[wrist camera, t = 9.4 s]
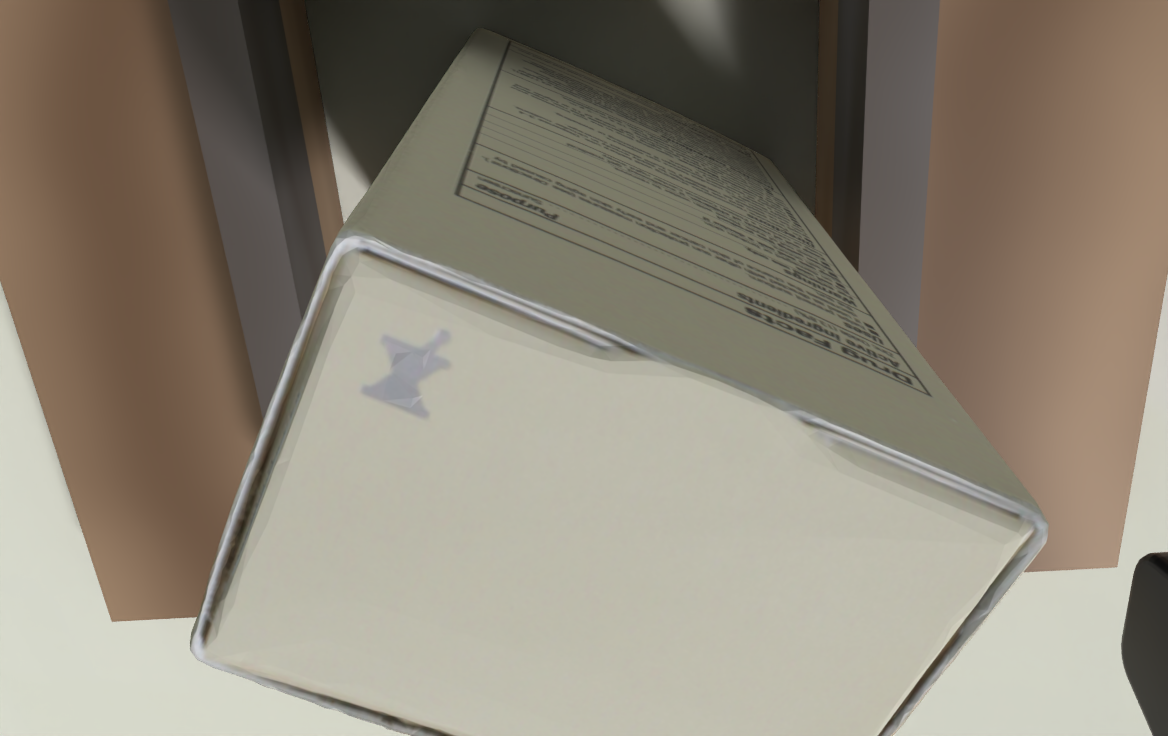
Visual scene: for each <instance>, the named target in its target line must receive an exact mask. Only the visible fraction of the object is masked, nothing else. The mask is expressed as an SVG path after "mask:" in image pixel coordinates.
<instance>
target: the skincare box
mask: <svg viewBox="0 0 1168 736" xmlns="http://www.w3.org/2000/svg"><path fill="white" fill-rule="evenodd" d="M1048 526H1049V523H1048V522H1047V520H1046V518H1045V516H1044V515H1043V513H1042V511H1041V509H1040V507H1039V506H1038V504H1037V502H1036V501H1035V500H1034V498H1033V497H1032V496H1031V495H1030V493H1029V492H1028V491H1027V489H1026V488H1025V487H1024V486H1023V484H1022V483H1021V482H1020V481H1019V479H1018V478H1017V477H1016V475H1015V474H1014V473H1013V472H1012V470H1011V469H1010V468H1009V466H1008V465H1007V464H1006V463H1005V461H1004V460H1003V459H1002V457H1001V456H1000V455H999V454H998V452H997V451H996V450H995V449H994V447H993V446H992V445H991V443H990V442H989V441H988V440H987V438H986V437H985V436H984V434H983V433H982V432H981V431H980V429H979V428H978V427H977V425H976V424H975V423H974V422H973V420H972V419H971V418H970V417H969V415H968V414H967V413H966V411H965V410H964V409H963V408H962V406H961V405H960V404H959V402H958V401H957V400H956V399H955V397H954V396H953V395H952V394H951V392H950V391H949V390H948V388H947V387H946V386H945V385H944V383H943V382H942V381H941V380H940V378H939V377H938V376H937V374H936V373H935V372H934V371H933V369H932V368H931V367H930V365H929V364H928V363H927V362H926V360H925V359H924V358H923V356H922V355H921V354H920V352H919V351H918V350H917V348H916V347H915V346H914V345H913V343H912V342H911V341H910V339H909V338H908V337H907V335H906V334H905V333H904V331H903V330H902V329H901V327H900V326H899V325H898V324H897V322H896V321H895V320H894V318H893V317H892V316H891V315H890V313H889V312H888V311H887V309H886V308H885V307H884V306H883V304H882V303H881V302H880V300H879V299H878V298H877V297H876V295H875V294H874V293H873V291H872V290H871V289H870V288H869V286H868V285H867V284H866V282H865V281H864V280H863V279H862V277H861V276H860V275H859V274H858V272H857V271H856V270H855V268H854V267H853V266H852V265H851V263H850V262H849V261H848V260H847V258H846V257H845V256H844V254H843V253H842V252H841V251H840V249H839V248H838V247H837V245H836V244H835V243H834V241H833V240H832V239H831V237H830V236H829V235H828V233H827V232H826V231H825V230H824V228H823V227H822V226H821V225H820V223H819V222H818V221H817V219H816V218H815V217H814V216H813V214H812V213H811V212H810V211H809V209H808V208H807V207H806V205H805V204H804V203H803V201H802V200H801V199H800V197H799V196H798V195H797V193H796V192H795V191H794V190H793V188H792V187H791V186H790V184H789V183H788V182H787V181H786V179H785V178H784V177H783V175H782V174H781V173H780V171H779V170H778V169H777V167H776V166H775V165H774V164H773V162H772V161H771V160H770V159H768V158H766V157H765V156H763V155H761V154H759V153H757V152H755V151H753V150H751V149H749V148H747V147H745V146H743V145H741V144H740V143H738V142H736V141H734V140H732V139H730V138H728V137H726V136H724V135H722V134H720V133H718V132H715V131H713V130H711V129H709V128H707V127H705V126H703V125H701V124H699V123H697V122H695V121H693V120H690V119H688V118H686V117H684V116H682V115H680V114H678V113H676V112H674V111H672V110H670V109H668V108H665V107H663V106H661V105H659V104H657V103H655V102H653V101H650V100H648V99H646V98H644V97H641V96H639V95H637V94H635V93H632V92H630V91H628V90H626V89H624V88H621V87H619V86H617V85H615V84H613V83H610V82H608V81H606V80H604V79H602V78H600V77H597V76H595V75H593V74H591V73H588V72H586V71H584V70H582V69H579V68H577V67H575V66H572V65H570V64H568V63H566V62H563V61H561V60H559V59H556V58H554V57H552V56H549V55H547V54H544V53H542V52H540V51H538V50H535V49H533V48H530V47H528V46H525V45H523V44H520V43H518V42H516V41H513V40H511V39H509V38H506V37H504V36H501V35H499V34H497V33H494V32H492V31H489V30H486V29H483V28H477V29H476V30H474V32H473V33H472V35H471V36H470V38H469V39H468V41H467V42H466V44H465V45H464V47H463V48H462V50H461V51H460V53H459V54H458V55H457V57H456V58H455V60H454V61H453V63H452V64H451V66H450V67H449V69H448V71H447V72H446V73H445V74H444V76H443V78H442V79H441V81H440V82H439V84H438V85H437V87H436V88H435V90H434V91H433V93H432V94H431V95H430V97H429V98H428V100H427V102H426V103H425V105H424V106H423V108H422V109H421V111H420V112H419V114H418V115H417V117H416V118H415V120H414V121H413V123H412V125H411V126H410V128H409V129H408V131H407V132H406V134H405V135H404V137H403V138H402V140H401V141H400V143H399V144H398V146H397V147H396V149H395V150H394V152H393V153H392V155H391V156H390V158H389V159H388V161H387V162H386V164H385V165H384V167H383V168H382V170H381V171H380V173H379V174H378V176H377V177H376V179H375V180H374V182H373V183H372V185H371V186H370V188H369V189H368V191H367V192H366V194H365V195H364V196H363V198H362V199H361V201H360V202H359V203H358V205H357V206H356V207H355V209H354V210H353V212H352V213H351V215H350V216H349V218H348V219H347V221H346V222H345V223H344V225H343V226H342V228H341V229H340V231H339V232H338V234H337V236H336V238H335V240H334V242H333V244H332V246H331V248H330V251H329V253H328V256H327V258H326V261H325V263H324V266H323V268H322V271H321V273H320V276H319V278H318V281H317V284H316V286H315V289H314V291H313V294H312V296H311V299H310V301H309V304H308V307H307V309H306V312H305V314H304V317H303V319H302V322H301V324H300V327H299V329H298V332H297V334H296V337H295V339H294V341H293V344H292V346H291V349H290V351H289V354H288V356H287V359H286V361H285V364H284V366H283V369H282V372H281V374H280V377H279V380H278V383H277V385H276V388H275V391H274V393H273V396H272V399H271V402H270V404H269V407H268V410H267V412H266V415H265V417H264V420H263V423H262V425H261V428H260V430H259V433H258V436H257V438H256V441H255V443H254V446H253V449H252V451H251V454H250V456H249V459H248V462H247V464H246V467H245V470H244V473H243V476H242V479H241V481H240V484H239V487H238V490H237V493H236V496H235V498H234V501H233V504H232V507H231V510H230V513H229V516H228V519H227V522H226V525H225V528H224V531H223V534H222V537H221V540H220V543H219V546H218V549H217V552H216V555H215V558H214V561H213V564H212V567H211V571H210V574H209V578H208V581H207V585H206V588H205V592H204V595H203V599H202V602H201V606H200V609H199V613H198V616H197V619H196V621H195V624H194V627H193V630H192V632H191V640H190V651H191V652H192V653H193V655H194V656H195V657H196V659H197V660H199V661H201V662H203V663H205V664H207V665H209V666H211V667H213V668H215V669H218V670H222V671H225V672H228V673H231V674H234V675H237V676H240V677H243V678H246V679H249V680H252V681H254V682H256V683H258V684H260V685H262V686H265V687H267V688H271V689H275V690H278V691H281V692H283V693H286V694H289V695H292V696H295V697H298V698H301V699H304V700H307V701H310V702H312V703H315V704H317V705H319V706H322V707H324V708H327V709H331V710H336V711H339V712H342V713H344V714H347V715H349V716H352V717H355V718H358V719H361V720H364V721H367V722H370V723H374V724H377V725H381V726H383V727H385V728H386V729H389V730H392V731H396V732H400V733H404V734H407V735H411V736H893V735H894V734H895V733H896V732H897V731H898V729H899V728H900V727H901V726H902V725H903V724H904V723H905V721H906V720H907V719H908V717H909V716H910V714H911V713H912V712H913V711H914V709H915V708H916V707H917V706H918V705H919V703H920V702H921V701H922V699H923V698H924V696H925V695H926V694H927V692H928V691H929V690H930V689H931V687H932V686H933V685H934V683H935V682H936V681H937V679H938V678H939V677H940V676H941V675H942V674H943V672H944V671H945V670H946V669H947V668H948V667H949V665H950V664H951V663H952V662H953V661H954V660H955V658H956V657H957V656H958V654H959V653H960V651H961V650H962V649H963V648H964V647H965V646H966V644H967V643H968V642H969V641H970V640H971V639H972V637H973V636H974V635H975V633H976V632H977V631H978V630H979V628H980V627H981V626H982V624H983V623H984V622H985V620H986V619H987V618H988V617H989V615H990V614H991V613H992V611H993V610H994V609H995V607H996V606H997V605H998V604H999V602H1000V601H1001V600H1002V598H1003V597H1004V596H1005V595H1006V593H1007V592H1008V591H1009V590H1010V588H1011V587H1012V586H1013V585H1014V583H1015V582H1016V581H1017V580H1018V578H1019V577H1020V576H1021V575H1022V573H1023V572H1024V571H1025V569H1026V568H1027V567H1028V566H1029V564H1030V563H1031V562H1032V561H1033V559H1034V558H1035V557H1036V555H1037V554H1038V553H1039V552H1040V550H1041V549H1042V548H1043V546H1044V545H1045V544H1046V542H1047V537H1048Z"/></svg>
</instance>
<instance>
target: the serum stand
mask: <svg viewBox="0 0 1168 736" xmlns="http://www.w3.org/2000/svg"><path fill="white" fill-rule="evenodd" d="M815 218H816V219H817V221H818V222H819V223H820V225H821V226H822V227H823V228H824V230H825V231H826V232H827V233H828V235H829V236H830V237H831V239H832V240H833V241H834V243H835V244H836V245H837V247H838V248H839V249H840V251H841V252H842V253H843V254H844V256H845V257H846V258H847V260H848V261H849V262H850V263H851V265H852V266H853V267H854V268H855V270H856V271H857V272H858V274H859V275H860V276H861V277H862V279H863V280H864V281H865V282H866V284H867V285H868V286H869V288H870V289H871V290H872V291H873V293H874V294H875V295H876V297H877V298H878V299H879V300H880V302H881V303H882V304H883V306H884V307H885V308H886V309H887V311H888V312H889V313H890V315H891V316H892V317H893V318H894V320H895V321H896V322H897V324H898V325H899V326H900V327H901V329H902V330H903V331H904V333H905V334H906V335H907V337H908V338H909V339H910V341H911V342H912V343H913V345H914V346H915V347H916V348H917V350H918V351H919V352H920V354H921V355H922V356H923V358H924V359H925V360H926V362H927V363H928V364H929V365H930V367H931V368H932V369H933V371H934V372H935V373H936V374H937V376H938V377H939V378H940V380H941V381H942V382H943V383H944V385H945V386H946V387H947V388H948V390H949V391H950V392H951V394H952V395H953V396H954V397H955V399H956V400H957V401H958V402H959V404H960V405H961V406H962V408H963V409H964V410H965V411H966V413H967V414H968V415H969V417H970V418H971V419H972V420H973V422H974V423H975V424H976V425H977V427H978V428H979V429H980V431H981V432H982V433H983V434H984V436H985V437H986V438H987V440H988V441H989V442H990V443H991V445H992V446H993V447H994V449H995V450H996V451H997V452H998V454H999V455H1000V456H1001V457H1002V459H1003V460H1004V461H1005V463H1006V464H1007V465H1008V466H1009V468H1010V469H1011V470H1012V472H1013V473H1014V474H1015V475H1016V477H1017V478H1018V479H1019V481H1020V482H1021V483H1022V484H1023V486H1024V487H1025V488H1026V489H1027V491H1028V492H1029V493H1030V495H1031V496H1032V497H1033V498H1034V500H1035V501H1036V502H1037V504H1038V506H1039V507H1040V509H1041V511H1042V513H1043V515H1044V516H1045V518H1046V520H1047V522H1048V523H1049V526H1048V537H1047V542H1046V544H1045V545H1044V546H1043V548H1042V549H1041V550H1040V552H1039V553H1038V554H1037V555H1036V557H1035V558H1034V559H1033V561H1032V562H1031V563H1030V564H1029V566H1028V567H1027V568H1026V569H1025V571H1024V572H1037V571H1056V570H1074V569H1093V568H1111V567H1117V565H1118V559H1119V553H1120V547H1121V541H1122V536H1123V530H1124V524H1125V518H1126V512H1127V507H1128V501H1129V495H1130V489H1131V483H1132V477H1133V472H1134V466H1135V460H1136V454H1137V448H1138V443H1139V437H1140V431H1141V425H1142V419H1143V413H1144V408H1145V402H1146V396H1147V390H1148V384H1149V378H1150V373H1151V367H1152V361H1153V355H1154V349H1155V344H1156V338H1157V332H1158V326H1159V320H1160V314H1161V309H1162V303H1163V297H1164V291H1165V285H1166V280H1167V274H1168V0H820V3H819V50H818V98H817V146H816V194H815ZM343 225H344V223H343V218H342V212H341V206H340V201H339V195H338V189H337V184H336V178H335V172H334V167H333V161H332V155H331V150H330V144H329V138H328V133H327V127H326V121H325V115H324V110H323V104H322V98H321V93H320V87H319V81H318V76H317V70H316V64H315V59H314V53H313V47H312V42H311V36H310V30H309V24H308V19H307V13H306V7H305V2H304V0H0V281H1V284H2V287H3V290H4V293H5V296H6V299H7V302H8V305H9V309H10V312H11V315H12V318H13V321H14V324H15V327H16V330H17V333H18V336H19V339H20V342H21V345H22V348H23V351H24V354H25V357H26V361H27V364H28V367H29V370H30V373H31V376H32V379H33V382H34V385H35V388H36V391H37V394H38V397H39V400H40V403H41V406H42V409H43V413H44V416H45V419H46V422H47V425H48V428H49V431H50V434H51V437H52V440H53V443H54V446H55V449H56V452H57V455H58V458H59V461H60V465H61V468H62V471H63V474H64V477H65V480H66V483H67V486H68V489H69V492H70V495H71V498H72V501H73V504H74V507H75V510H76V513H77V517H78V520H79V523H80V526H81V529H82V532H83V535H84V538H85V541H86V544H87V547H88V550H89V553H90V556H91V559H92V562H93V565H94V569H95V572H96V575H97V578H98V581H99V584H100V587H101V590H102V593H103V596H104V599H105V602H106V605H107V608H108V611H109V614H110V617H111V620H112V622H115V621H133V620H151V619H170V618H188V617H197V616H198V613H199V609H200V606H201V602H202V599H203V595H204V592H205V588H206V585H207V581H208V578H209V574H210V571H211V567H212V564H213V561H214V558H215V555H216V552H217V549H218V546H219V543H220V540H221V537H222V534H223V531H224V528H225V525H226V522H227V519H228V516H229V513H230V510H231V507H232V504H233V501H234V498H235V496H236V493H237V490H238V487H239V484H240V481H241V479H242V476H243V473H244V470H245V467H246V464H247V462H248V459H249V456H250V454H251V451H252V449H253V446H254V443H255V441H256V438H257V436H258V433H259V430H260V428H261V425H262V423H263V420H264V417H265V415H266V412H267V410H268V407H269V404H270V402H271V399H272V396H273V393H274V391H275V388H276V385H277V383H278V380H279V377H280V374H281V372H282V369H283V366H284V364H285V361H286V359H287V356H288V354H289V351H290V349H291V346H292V344H293V341H294V339H295V337H296V334H297V332H298V329H299V327H300V324H301V322H302V319H303V317H304V314H305V312H306V309H307V307H308V304H309V301H310V299H311V296H312V294H313V291H314V289H315V286H316V284H317V281H318V278H319V276H320V273H321V271H322V268H323V266H324V263H325V261H326V258H327V256H328V253H329V251H330V248H331V246H332V244H333V242H334V240H335V238H336V236H337V234H338V232H339V231H340V229H341V228H342V226H343Z"/></svg>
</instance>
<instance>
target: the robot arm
mask: <svg viewBox="0 0 1168 736" xmlns="http://www.w3.org/2000/svg"><path fill="white" fill-rule="evenodd" d="M1121 650H1122V660H1123V665H1124V668H1125V672H1126V675H1127V677H1128V680H1129V682H1130V684H1131V687H1132V689H1133V691H1134V693H1135V696H1136V698H1137V700H1138V703H1139V705H1140V707H1141V710H1142V712H1143V714H1144V716H1145V719H1146V721H1147V723H1148V726H1149V728H1150V730H1151V732H1152V735H1153V736H1168V552H1161V553H1150V554H1147V555H1146V556H1144V557H1142V558H1141V559H1140V560H1139V562H1138V564H1137V565H1136V568H1135V571H1134V575H1133V580H1132V586H1131V591H1130V597H1129V602H1128V608H1127V613H1126V619H1125V624H1124V630H1123V635H1122V643H1121Z"/></svg>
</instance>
